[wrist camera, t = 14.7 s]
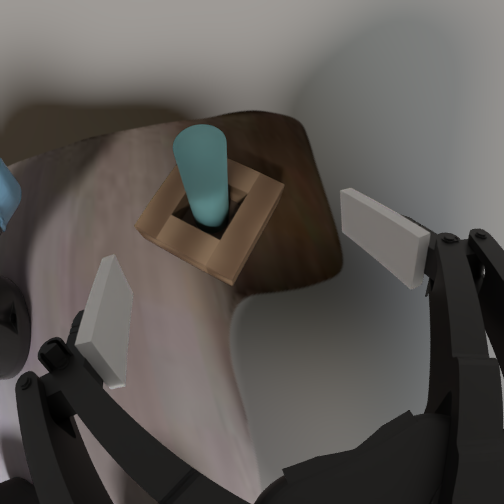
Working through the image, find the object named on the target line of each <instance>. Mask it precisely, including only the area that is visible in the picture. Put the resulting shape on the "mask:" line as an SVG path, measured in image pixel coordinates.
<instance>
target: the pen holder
mask: <svg viewBox="0 0 504 504" xmlns="http://www.w3.org/2000/svg"><path fill="white" fill-rule="evenodd" d="M0 504H40V502H39V499H38V496H37V493H36V490H35V487H34V486H33V485H31V484H30V483H29V482H27V481H25V480H23V479H21V478H12V479H10V480H7V481H4V482H2V483H0Z"/></svg>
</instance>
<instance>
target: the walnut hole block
mask: <svg viewBox="0 0 504 504" xmlns="http://www.w3.org/2000/svg"><path fill="white" fill-rule="evenodd" d="M227 176H228V203H229V221H228V224H227V225H226V227H225V228H224V229H223V230H221V231H220V232H217V233H206V232H203V231H202V230H200V229H199V228H198V226H197V225H196V222H195V219H194V216H193V213H192V210H191V207H190V204H189V201H188V198H187V194H186V191H185V188H184V185H183V182H182V179H181V175H180V172H179V169H178V166H177V165H176V166H175V167H174V169H173V170H172V171H171V173H170V174H169V176H168V177H167V178H166V180H165V181H164V183H163V184H162V185H161V187H160V188H159V190H158V191H157V192H156V194H155V195H154V197H153V198H152V200H151V201H150V203H149V204H148V206H147V207H146V209H145V210H144V212H143V213H142V215H141V216H140V218H139V219H138V221H137V222H136V224H135V225H134V227H135V228H136V229H137V230H138V231H139V232H140V234H141V235H142V236H143V237H144V238H145V239H147V240H149V241H150V242H152V243H154V244H155V245H157V246H159V247H161V248H163V249H164V250H166V251H168V252H170V253H171V254H173V255H175V256H177V257H179V258H180V259H182V260H184V261H186V262H188V263H189V264H191V265H193V266H195V267H197V268H198V269H200V270H202V271H204V272H206V273H208V274H209V275H211V276H213V277H215V278H217V279H219V280H221V281H222V282H224V283H226V284H228V285H230V286H232V287H233V285H234V283H235V281H236V280H237V278H238V276H239V274H240V272H241V270H242V269H243V267H244V265H245V263H246V261H247V259H248V258H249V256H250V254H251V252H252V250H253V248H254V247H255V245H256V243H257V241H258V239H259V237H260V236H261V234H262V232H263V230H264V228H265V226H266V225H267V223H268V221H269V219H270V217H271V215H272V213H273V212H274V210H275V208H276V206H277V204H278V202H279V201H280V198H281V195H282V192H283V188H284V185H285V184H283V183H280V182H278V181H276V180H274V179H272V178H270V177H268V176H266V175H264V174H262V173H259V172H257V171H255V170H253V169H251V168H249V167H246V166H244V165H242V164H240V163H237V162H235V161H233V160H231V159H228V158H227Z"/></svg>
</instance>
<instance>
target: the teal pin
mask: <svg viewBox="0 0 504 504" xmlns="http://www.w3.org/2000/svg"><path fill="white" fill-rule="evenodd" d="M173 152H174V156H175V159H176V162H177V166H178V169H179V172H180V175H181V179H182V182H183V185H184V188H185V191H186V194H187V198H188V201H189V204H190V207H191V210H192V213H193V216H194V219H195V222H196V225H197V226H198V228H199V229H200V230H202V231H203V232H206V233H217V232H220V231H221V230H223V229H224V228H225V227H226V225H227V224H228V221H229V203H228V176H227V144H226V138H225V135H224V134H223V132H222V131H221V130H219V129H218V128H216V127H214V126H211V125H206V124H199V125H194V126H191V127H188V128H186V129H184V130H183V131H182V132H180V133H179V134H178V136H177V137H176V138H175V140H174V143H173Z"/></svg>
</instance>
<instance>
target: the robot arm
mask: <svg viewBox="0 0 504 504" xmlns="http://www.w3.org/2000/svg"><path fill="white" fill-rule="evenodd" d="M340 197H341V217H342V232H343V233H344V234H345V235H347V236H348V237H349V238H351V239H352V240H353V241H354V242H355V243H357V244H358V245H359V246H360V247H362V248H363V249H364V250H365V251H366V252H368V253H369V254H370V255H372V256H373V257H374V258H375V259H376V260H377V261H378V262H380V263H381V264H382V265H383V266H384V267H385V268H387V269H388V270H389V271H390V272H391V273H392V274H394V275H395V276H396V277H397V278H398V279H399V280H401V281H402V282H403V283H404V284H405V285H406V286H407V287H409V289H411V290H412V289H414V288H416V287H418V286H420V285H421V284H422V282H423V277H424V274H426V275H427V276H428V277H429V281H428V286H427V290H426V295H425V297H427V296H428V293H429V307H430V338H431V339H430V340H431V341H430V376H429V392H428V401H427V406H426V409H425V412H424V414H419V415H415V416H413V415H412V413H411V412H410V410H408V411H407V412H405V413H403V414H402V415H400V416H398V417H397V418H395V419H393V420H392V421H390V422H388V423H386V424H384V425H383V426H381V427H380V428H379V429H378V430H377V431H376V432H375V433H374V434H373V435H372V436H370V437H369V438H368V439H367V440H366V441H364V442H363V443H362V444H361V445H359V446H358V447H357V448H355V449H353V450H349V451H344V452H340V453H335V454H329V455H324V456H318V457H315V458H312V459H309V460H307V461H304V462H301V463H299V464H296V465H293V466H290V467H287V468H284V469H282V470H283V473H284V475H285V476H282V477H280V478H279V479H277V480H276V481H274V482H273V483H272V484H270V485H269V486H268V487H267V488H266V489H265V490H264V491H263V492H262V493H261V494H260V496H259V497H258V498H257V500H256V501H255V503H254V504H504V429H503V401H502V387H501V377H500V368H501V371H502V374H503V377H504V250H503V249H502V248H501V247H500V245H499V244H498V243H497V242H496V241H495V239H494V238H493V237H492V236H491V235H490V234H489V233H488V232H486V231H484V230H483V229H482V230H481V229H472V230H470V233H469V238H468V239H464V240H460V238H459V237H457V236H456V235H453V234H451V233H440V234H436V233H434V232H433V231H431V230H429V229H428V228H426V227H424V226H423V225H421V224H419V223H418V222H416V221H414V220H413V219H411V218H409V217H407V216H403V215H400V214H398V213H396V212H395V211H393V210H391V209H389V208H387V207H386V206H384V205H382V204H380V203H378V202H377V201H375V200H373V199H371V198H369V197H367V196H366V195H364V194H362V193H360V192H358V191H356V190H354V189H352V188H348V189H344V190H340ZM20 201H21V187H20V185H19V183H18V182H17V180H16V179H15V177H14V176H13V175H12V173H11V172H10V171H9V169H8V168H7V166H6V165H5V164H4V162H3V161H2V159H1V158H0V234H1V233H2V231H3V232H5V230H6V225H7V223H8V222H9V220H10V218H11V217H12V215H13V213H14V212H15V210H16V209H17V207H18V205H19V203H20ZM484 268H485V275H484V274H483V272H484ZM132 302H133V292H132V290H131V288H130V286H129V284H128V282H127V280H126V278H125V276H124V274H123V271H122V269H121V267H120V265H119V263H118V260H117V258H116V256H115V254H113V255H110V256H107V257H104V258H102V261H101V264H100V266H99V269H98V272H97V275H96V277H95V280H94V283H93V286H92V289H91V292H90V295H89V298H88V301H87V304H86V307H85V310H82V311H79V313H78V314H77V315H76V317H75V318H74V320H73V323H72V326H71V327H72V328H71V330H70V335H69V336H68V340H67V343H66V344H65V343H64V341H63V340H62V339H61V338H59V337H54V338H51V339H49V340H48V341H46V342H45V343H44V344H43V345H42V346H41V348H40V350H39V352H38V360H39V361H40V362H41V363H42V364H43V366H44V367H45V368H46V369H47V370H48V371H49V373H47V374H45V375H43V376H41V377H40V378H39V377H38V376H37V375H36V374H35V373H34V372H32V371H28V372H26V373H24V374H23V375H21V376H20V378H19V379H18V381H17V383H16V387H15V392H16V402H17V410H18V417H19V424H20V430H21V435H22V440H23V445H24V450H25V454H26V458H27V462H28V466H29V470H30V474H31V477H32V481H33V484H34V487H35V490H36V493H37V496H38V499H39V502H40V504H114V503H113V502H112V500H111V498H110V496H109V495H108V493H107V491H106V489H105V487H104V485H103V483H102V481H101V479H100V477H99V475H98V473H97V471H96V469H95V467H94V465H93V463H92V461H91V458H90V456H89V454H88V452H87V449H86V447H85V445H84V442H83V440H82V437H81V435H80V432H79V430H78V427H77V424H76V421H75V419H74V416H73V415H75V414H78V416H79V417H80V418H81V420H82V421H83V422H84V424H85V425H86V426H87V428H88V429H89V430H90V432H91V433H92V434H93V435H94V437H95V438H96V439H97V440H98V441H99V443H100V444H101V445H102V446H103V447H104V448H105V450H106V451H107V452H108V453H109V454H110V455H111V456H112V458H113V459H114V460H115V461H116V462H117V463H118V464H119V465H120V466H121V467H122V468H123V469H124V470H125V471H126V472H127V474H128V475H129V476H130V477H131V478H132V479H133V480H135V481H136V482H137V483H138V484H139V485H140V486H141V487H142V488H143V489H144V490H145V491H146V492H147V493H148V494H149V495H150V496H152V497H153V498H154V499H155V500H156V501H157V502H158V503H159V504H250V503H248V502H247V501H245V500H243V499H241V498H239V497H238V496H236V495H234V494H233V493H231V492H229V491H228V490H226V489H224V488H223V487H221V486H220V485H218V484H216V483H215V482H213V481H212V480H210V479H209V478H207V477H206V476H204V475H203V474H201V473H200V472H198V471H197V470H195V469H194V468H192V467H191V466H190V465H188V464H187V463H186V462H184V461H183V460H182V459H180V458H179V457H178V456H176V455H175V454H174V453H172V452H171V451H170V450H169V449H167V448H166V447H165V446H164V445H162V444H161V443H160V442H159V441H158V440H156V439H155V438H154V437H153V436H152V435H151V434H149V433H148V432H147V431H146V430H145V429H144V428H143V427H141V426H140V425H139V424H138V423H137V422H136V421H135V420H134V419H133V418H132V417H131V416H130V415H129V414H127V413H126V412H125V411H124V410H123V409H122V408H121V407H120V406H119V405H118V404H117V403H116V402H115V401H114V400H113V399H112V398H111V397H110V396H109V394H108V393H107V392H106V391H105V390H104V389H103V381H104V382H105V384H106V385H107V386H108V387H109V388H110V389H114V388H119V387H124V386H126V368H127V352H128V340H129V329H130V319H131V310H132ZM485 331H486V333H487V335H488V337H489V340H490V342H491V345H492V347H493V350H494V352H495V355H496V358H497V359H496V358H489V354H488V346H487V340H486V333H485ZM29 346H30V322H29V315H28V311H27V307H26V304H25V301H24V298H23V296H22V294H21V292H20V290H19V289H18V287H17V286H16V285H15V284H14V283H13V282H12V281H11V280H9V279H7V278H5V277H2V276H0V380H2V379H10V378H13V377H15V376H16V375H17V374H18V373H19V372H20V371H21V369H22V368H23V366H24V364H25V362H26V359H27V356H28V352H29ZM499 366H500V368H499Z"/></svg>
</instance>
